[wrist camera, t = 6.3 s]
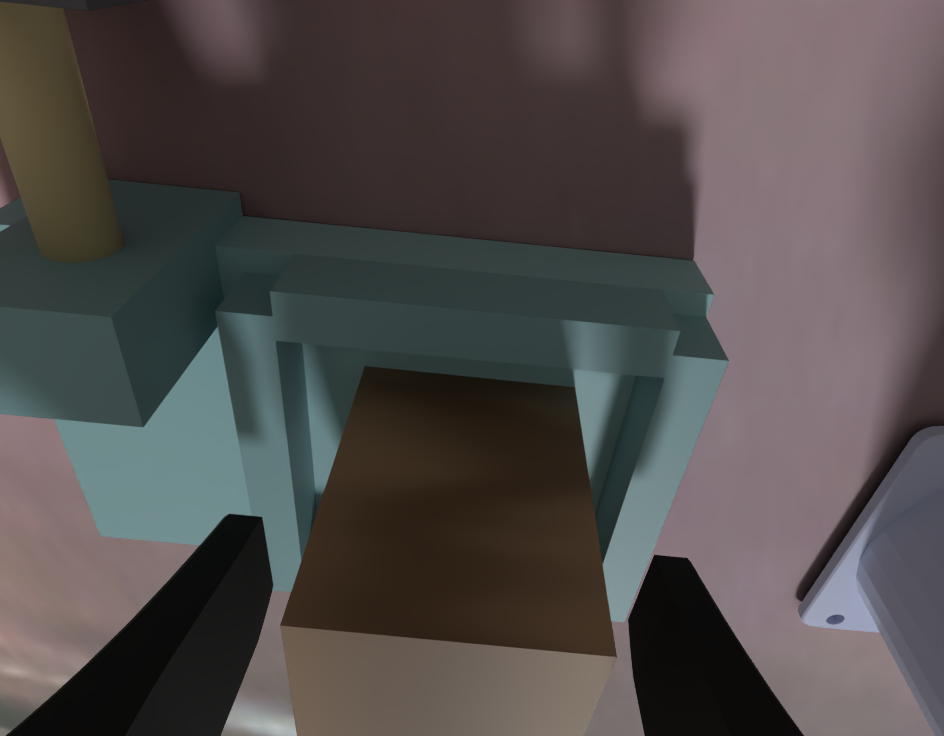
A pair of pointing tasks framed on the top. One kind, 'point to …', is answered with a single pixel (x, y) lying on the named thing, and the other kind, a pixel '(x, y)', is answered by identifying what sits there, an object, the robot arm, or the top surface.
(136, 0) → the block
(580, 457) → the brown wooden block
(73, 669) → the top surface
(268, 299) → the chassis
